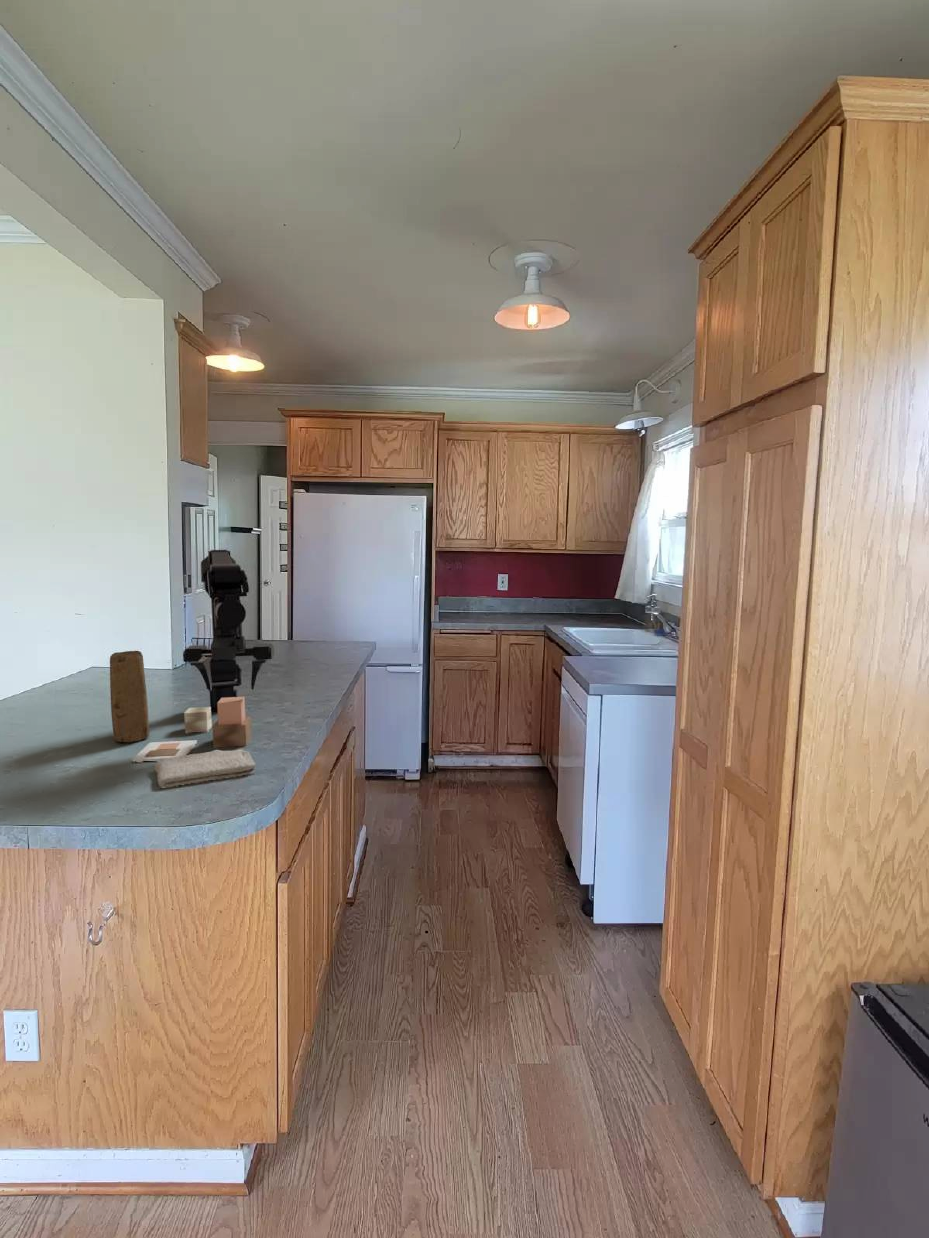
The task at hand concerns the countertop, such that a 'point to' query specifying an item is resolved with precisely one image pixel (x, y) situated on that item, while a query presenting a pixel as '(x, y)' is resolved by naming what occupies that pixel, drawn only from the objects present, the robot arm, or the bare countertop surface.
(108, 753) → the countertop surface
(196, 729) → the ash cube
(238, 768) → the washcloth
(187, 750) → the card
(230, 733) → the walnut block
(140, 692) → the block
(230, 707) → the terracotta cube
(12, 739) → the countertop surface
